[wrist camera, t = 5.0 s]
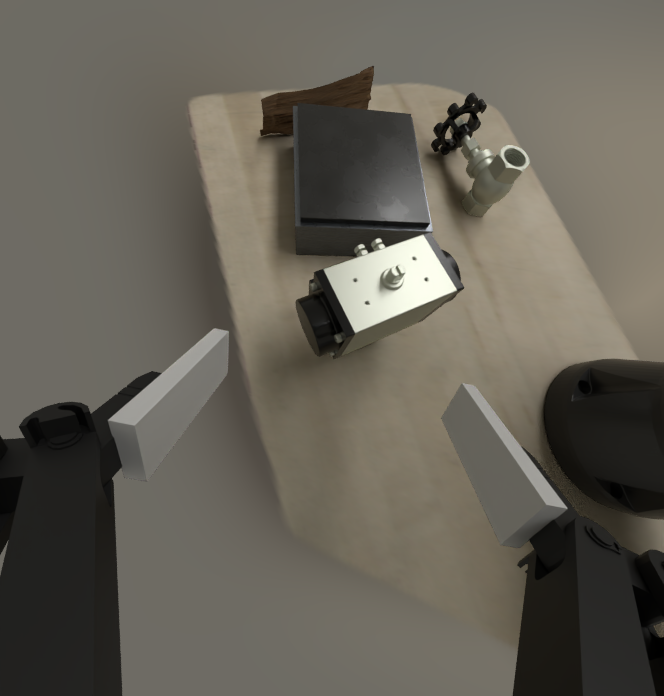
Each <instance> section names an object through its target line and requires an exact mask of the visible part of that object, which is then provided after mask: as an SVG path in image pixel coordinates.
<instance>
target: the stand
mask: <svg viewBox="0 0 664 696" xmlns="http://www.w3.org/2000/svg"><path fill="white" fill-rule="evenodd" d="M293 133H294V183H295V230H296V255H336V256H357V255H356V253H355V252H354V249H355V248H356V247H357V246H358V245H360V244H363V245H364V246H365V248H366V250H367V252H368V253H371V252H374V249H373V248H372V246H371V243H372V242H373V241H374V240H376V239H378V238H380V239H381V240H382V242H383V244H384V246H385V247H388V246H391V245H394V244H397V243H400V242H402V241H405V240H408V239H411V238H414V237H417V236H420V235H423V234H425V233H428V232H431V233H432V232H433V229H432V224H431V219H430V213H429V208H428V202H427V197H426V191H425V186H424V180H423V175H422V169H421V164H420V159H419V153H418V148H417V142H416V137H415V131H414V126H413V120H412V117H411V114H405V113H395V112H385V111H375V110H365V109H355V108H345V107H335V106H325V105H315V104H304V103H297V106H293Z"/></svg>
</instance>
